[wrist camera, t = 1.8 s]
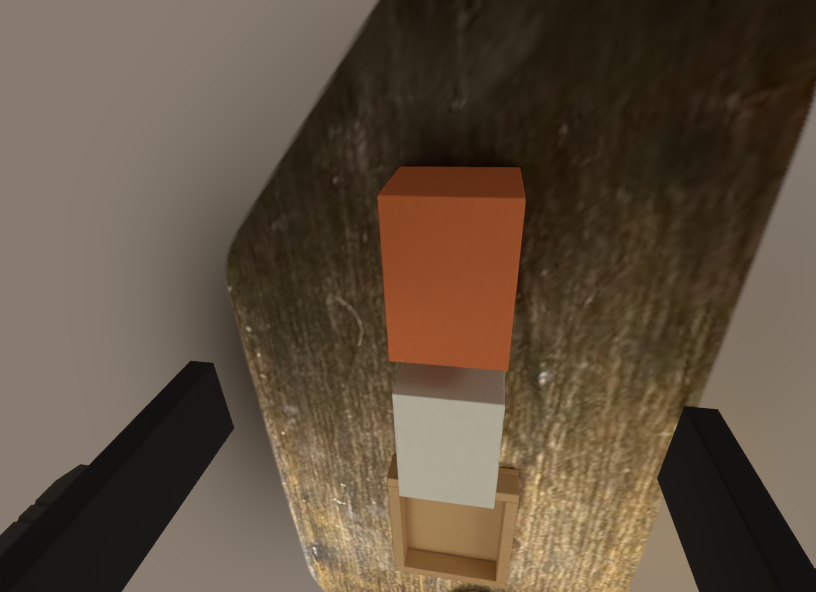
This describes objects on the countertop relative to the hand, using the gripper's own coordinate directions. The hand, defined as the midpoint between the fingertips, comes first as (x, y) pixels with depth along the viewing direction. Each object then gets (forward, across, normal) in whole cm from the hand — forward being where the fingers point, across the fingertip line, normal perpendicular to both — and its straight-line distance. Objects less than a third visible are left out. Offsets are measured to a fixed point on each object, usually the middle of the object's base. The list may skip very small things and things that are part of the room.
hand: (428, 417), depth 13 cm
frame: (+11, 0, -21) cm, 24 cm away
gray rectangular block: (+11, 0, -10) cm, 15 cm away
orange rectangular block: (+11, 0, 0) cm, 11 cm away
